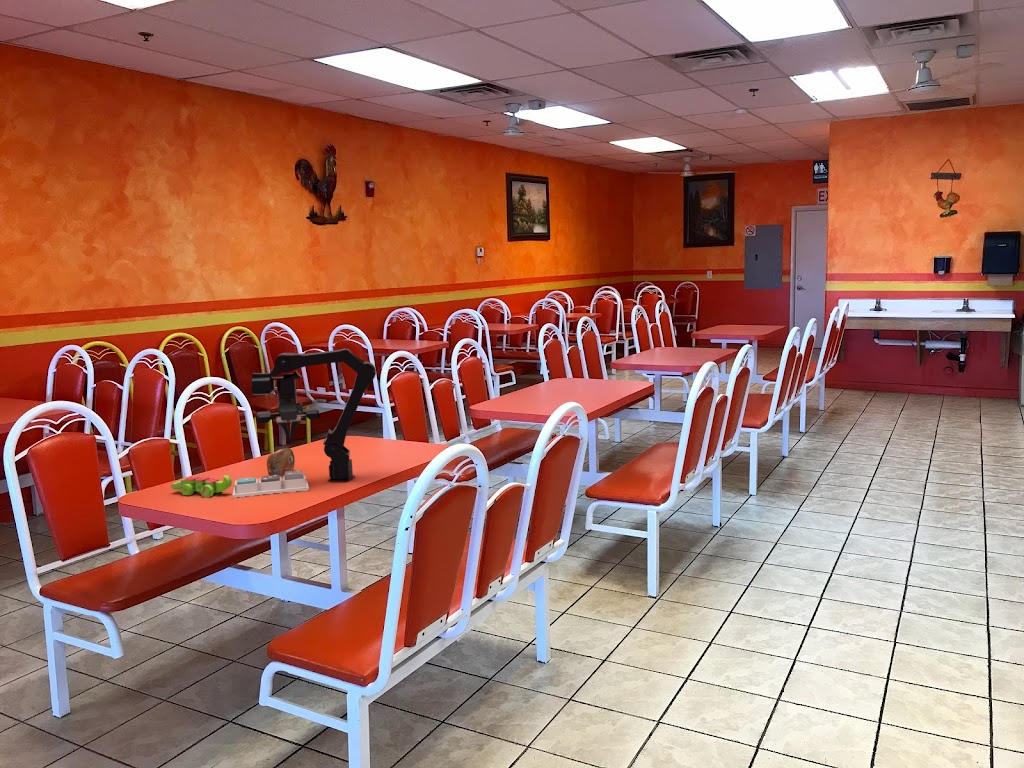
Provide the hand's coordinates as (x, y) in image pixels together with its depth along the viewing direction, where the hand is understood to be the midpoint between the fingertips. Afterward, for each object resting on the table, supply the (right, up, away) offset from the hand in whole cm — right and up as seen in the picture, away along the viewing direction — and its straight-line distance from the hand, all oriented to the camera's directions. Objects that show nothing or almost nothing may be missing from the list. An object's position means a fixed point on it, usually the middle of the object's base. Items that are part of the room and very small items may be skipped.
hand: (290, 442), depth 264 cm
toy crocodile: (-25, -15, -8) cm, 30 cm away
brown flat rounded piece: (-6, -12, +13) cm, 18 cm away
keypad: (-4, -14, -7) cm, 17 cm away
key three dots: (-4, -13, -8) cm, 15 cm away
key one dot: (-11, -13, -10) cm, 19 cm away
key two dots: (+3, -11, -6) cm, 13 cm away
